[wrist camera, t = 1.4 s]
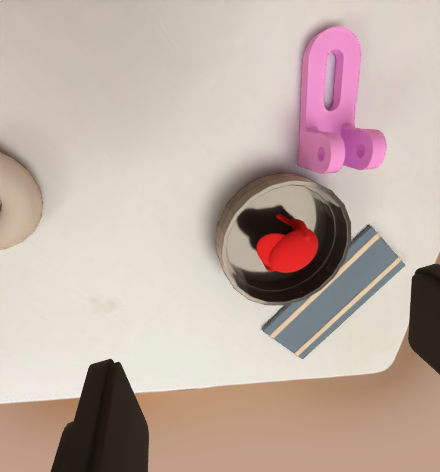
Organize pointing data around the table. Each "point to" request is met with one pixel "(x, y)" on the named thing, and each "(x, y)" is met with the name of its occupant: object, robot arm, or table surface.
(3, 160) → the donut
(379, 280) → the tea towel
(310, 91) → the bracket
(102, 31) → the table surface
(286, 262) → the red rounded lobed piece
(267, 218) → the bowl
